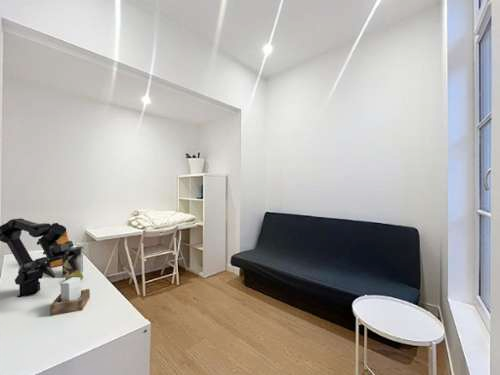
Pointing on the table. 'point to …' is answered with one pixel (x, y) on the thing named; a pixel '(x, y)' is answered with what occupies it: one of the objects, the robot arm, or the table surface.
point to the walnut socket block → (69, 304)
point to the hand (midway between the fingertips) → (65, 273)
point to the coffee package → (60, 241)
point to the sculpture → (74, 276)
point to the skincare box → (71, 289)
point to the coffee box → (67, 267)
